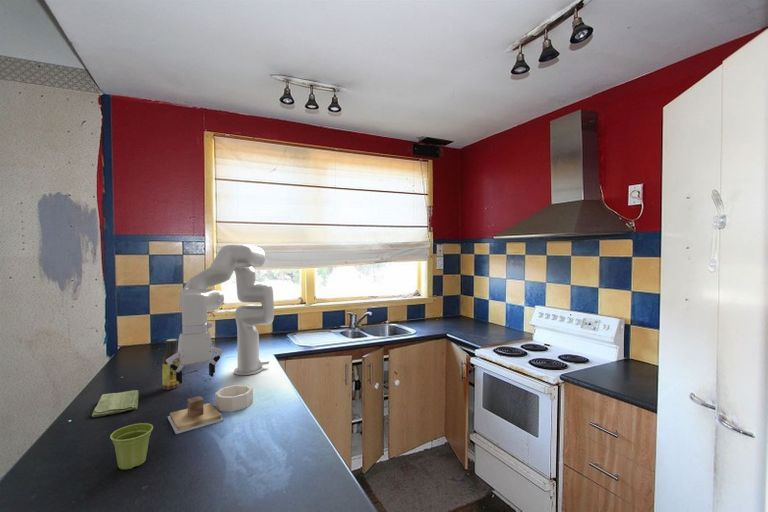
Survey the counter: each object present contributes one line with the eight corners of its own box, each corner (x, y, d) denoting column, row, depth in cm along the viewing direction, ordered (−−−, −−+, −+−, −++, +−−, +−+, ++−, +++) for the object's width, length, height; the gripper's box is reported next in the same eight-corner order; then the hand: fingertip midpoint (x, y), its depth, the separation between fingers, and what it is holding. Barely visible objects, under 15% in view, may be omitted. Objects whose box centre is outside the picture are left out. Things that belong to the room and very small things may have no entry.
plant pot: (124, 454, 101) (124, 423, 101) (160, 452, 102) (159, 422, 102) (101, 474, 92) (101, 441, 92) (140, 473, 92) (140, 439, 92)
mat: (211, 406, 132) (211, 405, 132) (223, 420, 121) (223, 418, 121) (167, 418, 123) (167, 416, 123) (175, 434, 112) (175, 432, 112)
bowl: (245, 395, 142) (245, 382, 142) (256, 405, 133) (256, 391, 133) (212, 403, 135) (212, 390, 135) (222, 414, 126) (221, 400, 125)
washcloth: (90, 420, 122) (90, 411, 122) (99, 401, 137) (99, 393, 137) (137, 412, 128) (137, 403, 128) (141, 395, 144) (141, 387, 144)
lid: (210, 405, 131) (210, 389, 131) (221, 418, 121) (221, 400, 121) (169, 416, 123) (169, 398, 123) (177, 430, 113) (177, 411, 113)
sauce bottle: (171, 391, 147) (171, 342, 146) (158, 389, 148) (158, 341, 148) (183, 385, 153) (183, 338, 153) (170, 384, 154) (170, 337, 154)
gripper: (219, 323, 130) (219, 370, 131) (163, 330, 119) (164, 382, 120) (225, 327, 124) (226, 376, 125) (167, 335, 113) (168, 389, 114)
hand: (196, 378), depth 122 cm, fingers open, 9 cm apart
